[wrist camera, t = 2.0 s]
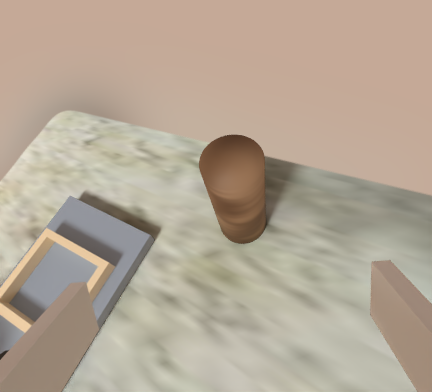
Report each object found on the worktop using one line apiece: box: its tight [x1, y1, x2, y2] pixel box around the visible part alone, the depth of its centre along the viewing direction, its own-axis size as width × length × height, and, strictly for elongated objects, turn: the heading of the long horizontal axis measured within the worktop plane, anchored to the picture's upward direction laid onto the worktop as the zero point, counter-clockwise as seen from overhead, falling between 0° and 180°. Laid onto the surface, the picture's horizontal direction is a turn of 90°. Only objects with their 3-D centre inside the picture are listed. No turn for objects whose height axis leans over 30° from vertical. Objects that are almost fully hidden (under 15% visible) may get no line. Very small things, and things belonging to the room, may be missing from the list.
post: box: [199, 135, 266, 244], centre depth 29 cm, size 5×5×12 cm
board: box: [0, 196, 154, 379], centre depth 32 cm, size 12×18×3 cm, turn 152°
